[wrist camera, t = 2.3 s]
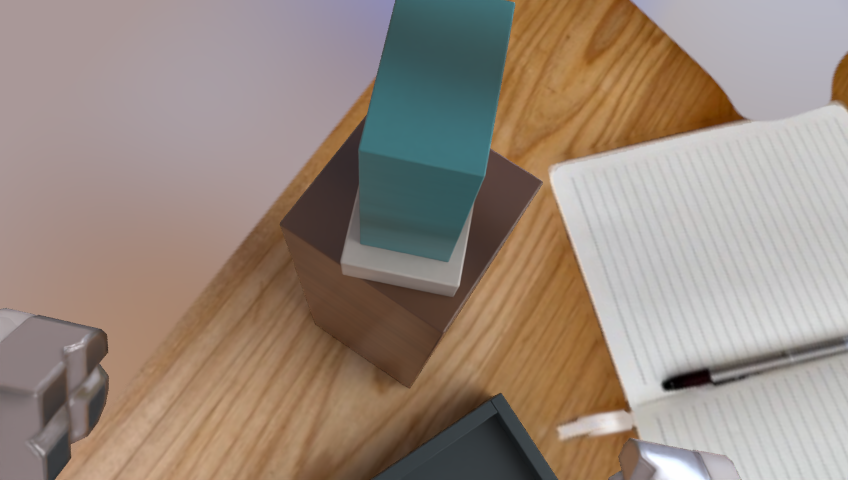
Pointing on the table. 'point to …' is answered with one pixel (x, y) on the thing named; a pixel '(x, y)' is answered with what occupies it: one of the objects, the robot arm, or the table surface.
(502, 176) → the stand
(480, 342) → the table surface
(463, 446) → the tray
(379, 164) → the eraser
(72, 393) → the robot arm
